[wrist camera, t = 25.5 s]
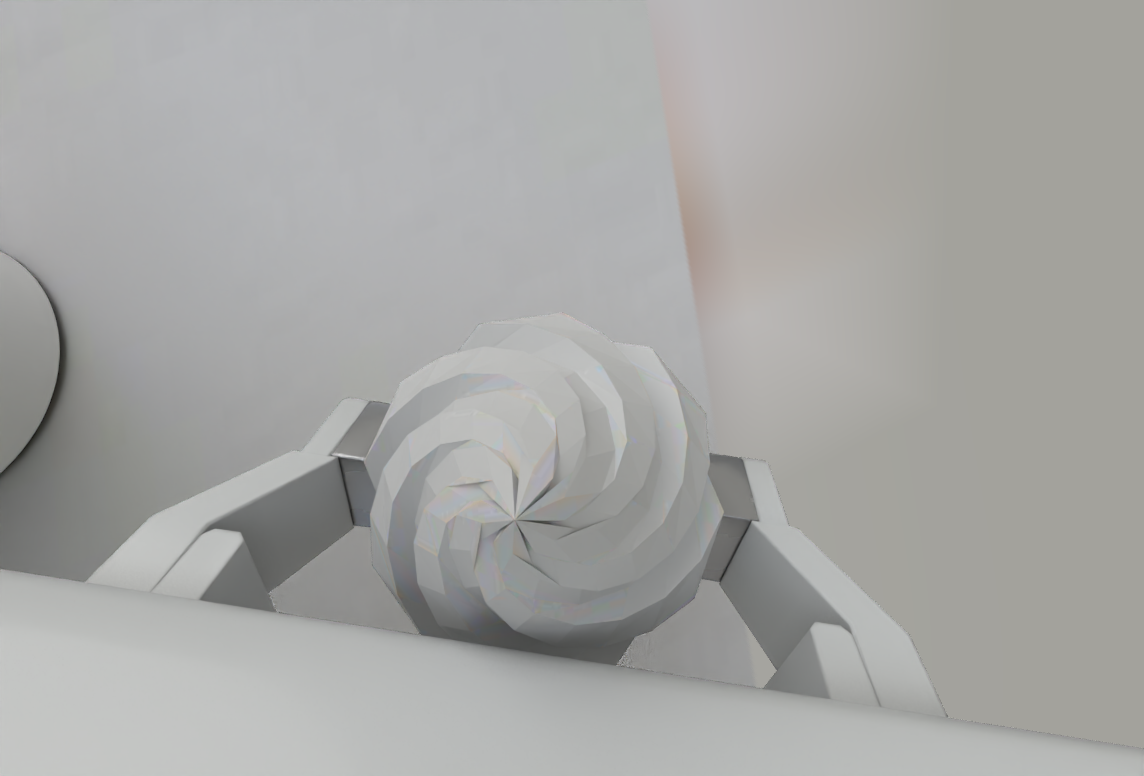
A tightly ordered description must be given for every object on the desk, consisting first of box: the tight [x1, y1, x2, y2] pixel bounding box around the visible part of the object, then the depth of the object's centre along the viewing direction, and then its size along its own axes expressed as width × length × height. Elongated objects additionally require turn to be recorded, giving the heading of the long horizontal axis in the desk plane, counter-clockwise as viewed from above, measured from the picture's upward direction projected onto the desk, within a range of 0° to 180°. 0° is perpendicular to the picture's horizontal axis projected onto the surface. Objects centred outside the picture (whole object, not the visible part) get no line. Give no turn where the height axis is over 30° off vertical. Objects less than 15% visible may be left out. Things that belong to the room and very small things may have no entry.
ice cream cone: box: [364, 313, 724, 665], centre depth 11 cm, size 6×6×15 cm
